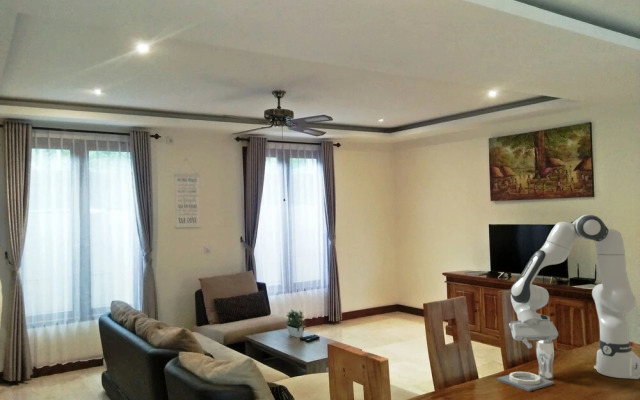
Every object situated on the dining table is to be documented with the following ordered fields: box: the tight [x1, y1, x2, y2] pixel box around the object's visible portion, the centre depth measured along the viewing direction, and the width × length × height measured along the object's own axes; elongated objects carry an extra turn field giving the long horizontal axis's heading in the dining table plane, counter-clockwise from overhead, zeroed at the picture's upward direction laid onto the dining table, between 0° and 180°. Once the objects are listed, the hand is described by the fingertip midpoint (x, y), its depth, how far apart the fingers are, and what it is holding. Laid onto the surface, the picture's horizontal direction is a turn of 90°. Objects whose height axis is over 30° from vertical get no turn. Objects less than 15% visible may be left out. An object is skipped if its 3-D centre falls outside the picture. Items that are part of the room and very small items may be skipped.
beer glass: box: [535, 340, 555, 380], centre depth 216 cm, size 7×7×15 cm
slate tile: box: [496, 371, 555, 392], centre depth 209 cm, size 16×16×2 cm
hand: (540, 347), depth 220 cm, fingers open, 8 cm apart
